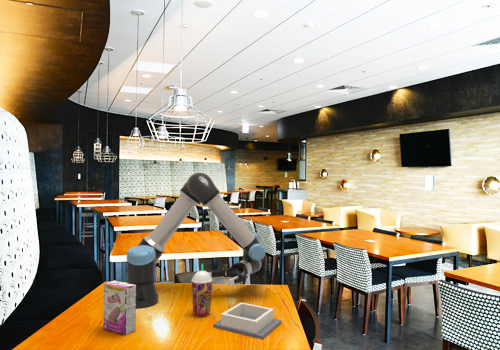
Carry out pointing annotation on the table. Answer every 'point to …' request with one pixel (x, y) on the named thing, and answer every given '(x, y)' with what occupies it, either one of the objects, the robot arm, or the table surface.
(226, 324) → the board
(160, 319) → the table surface
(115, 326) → the candy bar box
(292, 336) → the table surface
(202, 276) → the smoothie
